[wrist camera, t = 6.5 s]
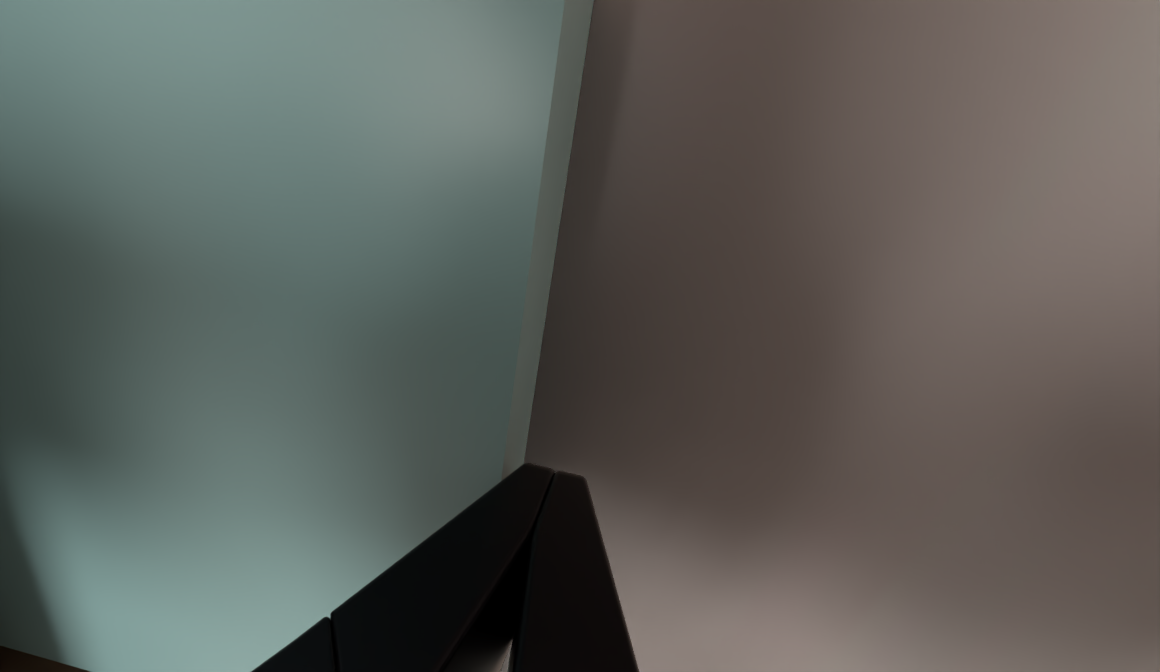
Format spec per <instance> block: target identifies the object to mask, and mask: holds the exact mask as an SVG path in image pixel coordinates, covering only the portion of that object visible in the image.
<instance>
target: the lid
mask: <svg viewBox="0 0 1160 672" xmlns="http://www.w3.org/2000/svg"><path fill="white" fill-rule="evenodd" d="M593 3H594V0H0V646H4V647H7V648H11V649H14V650H18V651H21V652H25V653H28V654H32V655H35V656H39V657H42V658H46V659H49V660H53V661H56V662H60V663H63V664H67V665H70V666H73V667H77V668H80V669H84V670H87V671H91V672H251V671H253V670H254V669H255V668H257V667H258V666H259V665H261V664H262V663H263V662H265V661H266V660H268V659H269V658H270V657H272V656H273V655H274V654H276V653H277V652H279V651H280V650H281V649H283V648H284V647H285V646H287V645H288V644H289V643H291V642H292V641H294V640H295V639H296V638H298V637H299V636H300V635H302V634H303V633H304V632H305V631H307V630H308V629H309V628H311V627H312V626H313V625H314V624H316V623H317V622H318V621H320V620H321V619H322V618H323V617H329V618H330V613H331V612H332V611H333V610H334V609H336V608H337V607H338V606H340V605H341V604H342V603H344V602H345V601H346V600H347V599H349V598H350V597H351V596H353V595H354V594H355V593H357V592H358V591H359V590H360V589H362V588H363V587H364V586H366V585H367V584H368V583H370V582H371V581H372V580H373V579H375V578H376V577H377V576H379V575H380V574H381V573H382V572H384V571H385V570H386V569H388V568H389V567H390V566H392V565H393V564H394V563H395V562H397V561H398V560H399V559H401V558H402V557H403V556H405V555H406V554H407V553H408V552H410V551H411V550H412V549H414V548H415V547H416V546H418V545H419V544H420V543H421V542H423V541H424V540H425V539H427V538H428V537H429V536H430V535H432V534H433V533H434V532H436V531H437V530H438V529H440V528H441V527H442V526H443V525H445V524H446V523H447V522H449V521H450V520H451V519H453V518H454V517H455V516H456V515H458V514H459V513H460V512H462V511H463V510H464V509H466V508H467V507H468V506H469V505H471V504H472V503H473V502H475V501H476V500H477V499H479V498H480V497H481V496H482V495H484V494H485V493H486V492H488V491H489V490H490V489H491V488H493V487H494V486H495V485H497V484H498V483H499V482H501V481H502V480H503V479H504V478H506V477H507V476H508V475H510V474H511V473H512V472H514V471H515V470H516V469H517V468H519V467H520V466H521V465H523V464H524V458H525V451H526V445H527V438H528V431H529V425H530V418H531V412H532V405H533V398H534V392H535V385H536V379H537V372H538V365H539V359H540V352H541V346H542V339H543V332H544V326H545V319H546V313H547V306H548V299H549V293H550V286H551V280H552V273H553V266H554V260H555V253H556V247H557V240H558V233H559V227H560V220H561V214H562V207H563V200H564V194H565V187H566V181H567V174H568V167H569V161H570V154H571V148H572V141H573V134H574V128H575V121H576V115H577V108H578V101H579V95H580V88H581V82H582V75H583V68H584V62H585V55H586V49H587V42H588V35H589V29H590V22H591V16H592V9H593Z"/></svg>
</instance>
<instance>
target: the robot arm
mask: <svg viewBox="0 0 1160 672" xmlns="http://www.w3.org/2000/svg"><path fill="white" fill-rule="evenodd" d="M512 640H513V641H512ZM511 642H512V647H511V652H510V658H509V664H508V670H507V672H639V669H638V666H637V662H636V658H635V655H634V651H633V647H632V644H631V640H630V636H629V633H628V629H627V626H626V622H625V618H624V615H623V611H622V607H621V604H620V600H619V596H618V593H617V589H616V586H615V582H614V578H613V575H612V571H611V567H610V564H609V560H608V556H607V553H606V549H605V546H604V542H603V538H602V535H601V531H600V527H599V524H598V520H597V517H596V513H595V509H594V506H593V502H592V498H591V495H590V491H589V487H588V484H587V481H586V479H585V478H584V477H583V476H580V475H576V474H572V473H568V472H564V471H557V472H555V473H554V470H553V469H551V468H548V467H544V466H540V465H536V464H532V463H525V464H523V465H521V466H520V467H519V468H517V469H516V470H515V471H514V472H512V473H511V474H510V475H508V476H507V477H506V478H504V479H503V480H502V481H501V482H499V483H498V484H497V485H495V486H494V487H493V488H491V489H490V490H489V491H488V492H486V493H485V494H484V495H482V496H481V497H480V498H479V499H477V500H476V501H475V502H473V503H472V504H471V505H469V506H468V507H467V508H466V509H464V510H463V511H462V512H460V513H459V514H458V515H456V516H455V517H454V518H453V519H451V520H450V521H449V522H447V523H446V524H445V525H443V526H442V527H441V528H440V529H438V530H437V531H436V532H434V533H433V534H432V535H430V536H429V537H428V538H427V539H425V540H424V541H423V542H421V543H420V544H419V545H418V546H416V547H415V548H414V549H412V550H411V551H410V552H408V553H407V554H406V555H405V556H403V557H402V558H401V559H399V560H398V561H397V562H395V563H394V564H393V565H392V566H390V567H389V568H388V569H386V570H385V571H384V572H382V573H381V574H380V575H379V576H377V577H376V578H375V579H373V580H372V581H371V582H370V583H368V584H367V585H366V586H364V587H363V588H362V589H360V590H359V591H358V592H357V593H355V594H354V595H353V596H351V597H350V598H349V599H347V600H346V601H345V602H344V603H342V604H341V605H340V606H338V607H337V608H336V609H334V610H333V611H332V612H331V613H330V618H329V617H323V618H322V619H321V620H320V621H318V622H317V623H316V624H314V625H313V626H312V627H311V628H309V629H308V630H307V631H305V632H304V633H303V634H302V635H300V636H299V637H298V638H296V639H295V640H294V641H292V642H291V643H289V644H288V645H287V646H285V647H284V648H283V649H281V650H280V651H279V652H277V653H276V654H274V655H273V656H272V657H270V658H269V659H268V660H266V661H265V662H263V663H262V664H261V665H259V666H258V667H257V668H255V669H254V670H253V671H251V672H500V670H501V668H502V665H503V663H504V660H505V658H506V655H507V653H508V650H509V648H510V645H511Z"/></svg>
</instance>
